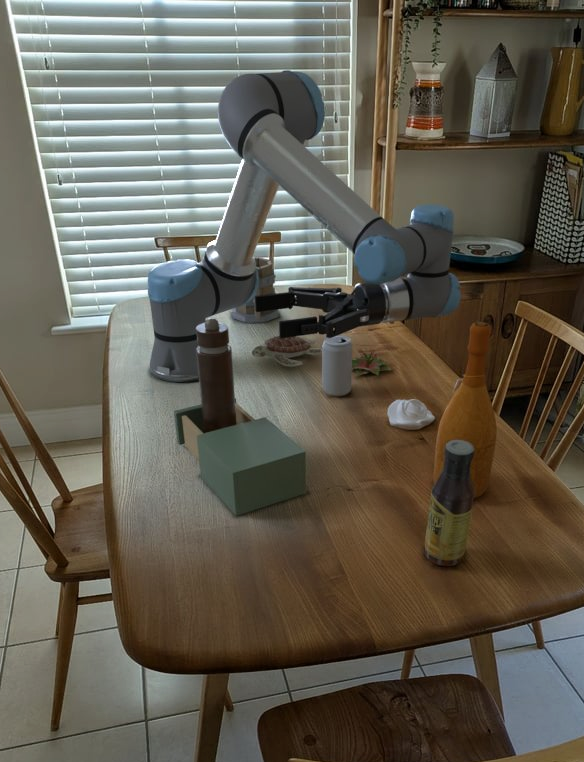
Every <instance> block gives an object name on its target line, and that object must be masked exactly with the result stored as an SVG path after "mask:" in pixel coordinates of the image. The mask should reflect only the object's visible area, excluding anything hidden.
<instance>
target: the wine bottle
mask: <svg viewBox="0 0 584 762" xmlns="http://www.w3.org/2000/svg"><path fill="white" fill-rule="evenodd" d="M492 332H493V329H492V325H491V324H489V323H488V322H485V321H476V322H474V323H472V324H471V326H470V327H469V340H468V341H469V342H468V344H467V351H468V359H467V364H466V368H465V372H464V374H462V376H463V377H461V378H457V379H456V382H455V384H454V387H453V392H452V393H454V394H453V396H452V397H451V399H450V400H449V402H448V404H447V406H446V408H445V410H444V411H443V414H442V416H441V419H440V421H439V426H438V429H437V435H436V443H435V453H434V466H433V467H434V468H433V486H434V485H435V483H436V481H437V479H438V478H439V476H440V474H441V472H442V470H443V467H444V460H445V454H444V451H445V446H446V444H447V443H448V442H450V441H453V440H463V441H466V442H469V443H471V444H472V445H473V447H474V457H473V458H472V460H471V466H470V474H469V476H470V478H471V479H472V481H473V484H474V489H475V492H474V498H473V499H477V498H479V497H480V496H483V494H485V492H486V491H487V489H488V486H489V482H490V478H491V473H492V467H493V461H494V456H495V450H496V443H497V428H498V427H497V419H496V415H495V414H496V413H495V411H494V407H493V403H492V400H491V397H490V394H489V392H488V387H487V383H486V372H485V371H486V370H485V368H486V361H487V354H488V353H489V351H490V340H491V336H492Z"/></svg>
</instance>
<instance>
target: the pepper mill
mask: <svg viewBox="0 0 584 762" xmlns="http://www.w3.org/2000/svg"><path fill="white" fill-rule="evenodd" d="M229 333H230V331H229V326H228V324H226V323H223V322H219V321H218V320H217V319H216V318H214V317H208V318H206V322H205V323H203V324H200V325H198V326H197V327H196V335H197V343H198V345H199V346H198V347H197V349H196V353H197V363H198V374H199V380H198V383H199V393H200V403H201V404H202V414H203V425H204V433H207V432H211V431H215V430H219V429H222V428H226V427H230V426H234V425H237V421H236V407H235V398H236V394H235V379H234V366H233V365H234V363H233V353H232V352H233V351H232V350H233V349H232V346H231V345H229V344H230V334H229ZM201 404H200V405H201Z"/></svg>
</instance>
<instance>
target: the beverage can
mask: <svg viewBox="0 0 584 762" xmlns="http://www.w3.org/2000/svg"><path fill="white" fill-rule="evenodd" d="M321 347H322V348H321V350H322V353H321V354H322V355H321V358H322V359H321V374H322V375H321V381H322V382H321V388H322V391H323V392H324V393H325V394H326V395H328V396H330V397H343V396H347V395H348V393H350V392H351V391H352V382H353V381H352V379H353V377H352V376H353V368H352V360H353V344H352V339H351V338H350V337H348V336H346V335H343V334H340V335H337V336H335V337H333V338H327V337H326V336H325V337H324V338H323V343H322V345H321Z"/></svg>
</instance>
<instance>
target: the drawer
mask: <svg viewBox="0 0 584 762" xmlns="http://www.w3.org/2000/svg"><path fill="white" fill-rule="evenodd" d="M235 407H236V421H237V425H238V424H241V423H245V422H249V421H253V420H256V419H255V418H254V417H253V416H252V415H251V414H250V413H249V412H247V411H246V410H245V409H244V408H243V407H242V406H240V404H238V403H237V398H236V397H235ZM173 418H174V426H175V434H176V442H177V444H178V445H179V446H181V445H184V447H185V448H186V449H187V450H188V451H189V452H190V453H191V454H192V455H193V456H194V458H195V459H196V460H197V461H198V462H199V454H198V444H197V435H200V434H204V425H203V414H202V404H196V405H193V406H190V407H183V408H180V409H177V410H173Z"/></svg>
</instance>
